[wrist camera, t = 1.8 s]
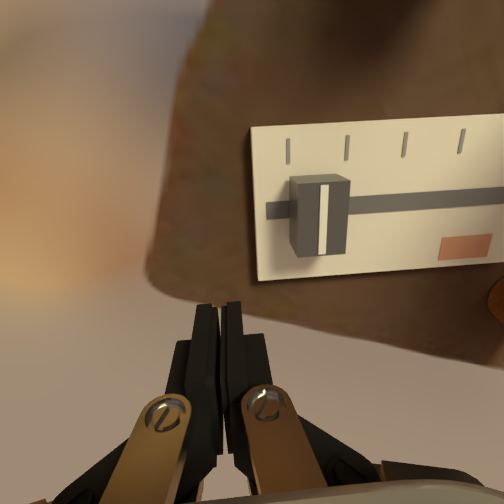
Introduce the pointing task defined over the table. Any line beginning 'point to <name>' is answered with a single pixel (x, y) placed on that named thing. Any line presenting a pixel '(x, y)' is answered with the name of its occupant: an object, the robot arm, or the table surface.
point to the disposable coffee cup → (497, 300)
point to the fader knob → (318, 214)
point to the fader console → (386, 192)
